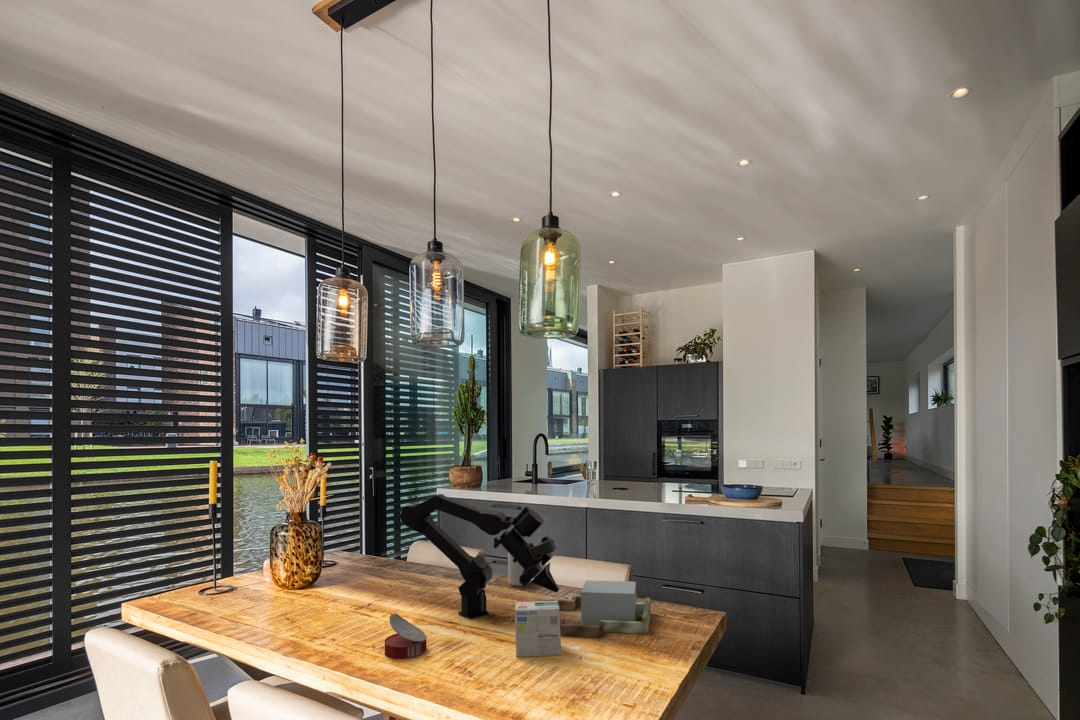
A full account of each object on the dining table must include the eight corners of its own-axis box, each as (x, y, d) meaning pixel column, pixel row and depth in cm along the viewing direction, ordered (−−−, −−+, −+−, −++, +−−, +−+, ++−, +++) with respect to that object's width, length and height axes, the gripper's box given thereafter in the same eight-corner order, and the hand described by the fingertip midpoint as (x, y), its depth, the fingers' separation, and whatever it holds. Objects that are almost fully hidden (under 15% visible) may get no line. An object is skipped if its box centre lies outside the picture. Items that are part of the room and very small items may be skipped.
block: (581, 627, 160) (580, 592, 161) (586, 613, 172) (585, 580, 172) (635, 629, 157) (634, 593, 158) (636, 615, 169) (635, 581, 170)
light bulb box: (560, 645, 147) (558, 599, 148) (561, 656, 140) (560, 608, 141) (515, 647, 147) (515, 601, 148) (515, 658, 140) (514, 609, 141)
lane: (527, 633, 155) (527, 617, 156) (548, 603, 181) (548, 589, 182) (646, 640, 149) (646, 623, 149) (651, 607, 175) (650, 593, 175)
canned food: (403, 664, 150) (416, 621, 155) (429, 669, 143) (442, 624, 149) (367, 653, 143) (381, 609, 148) (392, 658, 137) (407, 612, 142)
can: (530, 586, 200) (529, 549, 201) (507, 587, 200) (507, 549, 201) (531, 580, 207) (530, 544, 208) (509, 581, 207) (508, 545, 209)
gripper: (530, 534, 161) (572, 579, 158) (545, 523, 180) (583, 563, 176) (502, 564, 162) (542, 609, 159) (519, 549, 181) (556, 589, 177)
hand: (557, 591), depth 168 cm, fingers closed
